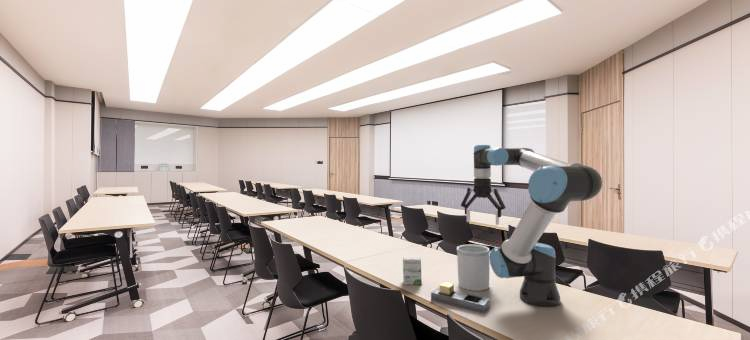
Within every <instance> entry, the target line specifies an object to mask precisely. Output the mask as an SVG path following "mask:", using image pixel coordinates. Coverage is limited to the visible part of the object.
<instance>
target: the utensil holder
mask: <svg viewBox="0 0 750 340" xmlns="http://www.w3.org/2000/svg"><path fill="white" fill-rule="evenodd" d="M490 252H491V250H490V248H489V247H488V246H485V245H481V244H473V243H470V244H461V245H458V246H456V254H457V256H456V257H457V259H456V260H457V279H458V280H457V281H458V282H457V283H458V286H459V287H460V288H461V289H464V290H468V291H474V292H475V291H476V292H477V291H478V292H479V291H480V292H481V291H485V290H488V289H489V288H490Z"/></svg>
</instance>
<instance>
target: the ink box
mask: <svg viewBox="0 0 750 340" xmlns="http://www.w3.org/2000/svg"><path fill="white" fill-rule="evenodd" d="M402 275H403V276H402V277H403V279H402V280H403V285H406V284H410V285H415V286H416V285H417V286H418V285H422V259H421V257H406V256H405V257H403V258H402ZM410 285H409V286H410Z"/></svg>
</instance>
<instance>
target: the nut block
mask: <svg viewBox="0 0 750 340" xmlns="http://www.w3.org/2000/svg"><path fill="white" fill-rule="evenodd" d="M438 287H440V294H442V295H446V296H450V297H451V296H452V295H453V294H454V291H455V284H454V283H451V282H446V281H443V282H442V283H441V284H439V286H438Z"/></svg>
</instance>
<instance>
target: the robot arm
mask: <svg viewBox="0 0 750 340" xmlns="http://www.w3.org/2000/svg"><path fill="white" fill-rule="evenodd" d="M492 166H496V167H497V166H519V167H522V168H525V169H527V170H530V171H531V172H533V173H531V174H530V177H529V179H528V185H529V186H527V191H528V194H529V198H530V200H531V201H530V202H529V204H528V206H527V207H526V210H525V211H524V213H523V215H522V217H521V218H520V220H519V222H518V224H517V225H516V227H515V229H514V231H513V232H512V234H511V236H510V237H509V238H508V239H505V240H504V241H503V242H502V243H501V245H500V247H498V248H496V247H494V248H492V249H491V250H490V252H489V265H490V266H491V269H492V271H493V273H494V274H495V276H496V277H498V278H500V279H511V278H521V277H523V281H522V282H521V283H522V284H521V286H520V289H519V298H520V299H521V300H522V301H523V302H525V303H528V304H531V305H534V306H539V307H547V308H549V307H553V308H554V307H556V306H557V307H558V306H559V305H560V304H561V296H560V293H559V290H558V286H557V284H556V258H557V256H556V250H555V248H554V247H553V246H551V245H549V244H547V243H541V242H539V240H540V238H541V237H542V235H543V234H544V232H545V231H546V230H547V227H548V226H549V225H550V224H551V222H552V220H553V218H554V217H555V215H556V214H561V213H562V212H564V211H565V209H566V208H567V207H568V205H569V204H570V203H571V202H582V201H583V202H584V201H589V200H592V199H593V198H595V197H596V196H597V195H598V194H600V192H601V190H602V187H603V180H602V176H601V174H600V173H599V171H597V169H595V168H593V167H592V166H588V165H584V164H581V163H575V162H574V163H568V162H565V161H562V160H558V159H556V158H553V157H549V156H546V155H544V154H542V153H538V152H535V150H534V149H532V148H530V147H529V148H528V147H519V148H518V147H517V148H516V147H515V148H514V147H513V148H511V147H509V148H508V147H507V148H506V147H494V148H491V145H489V144H476V145H474V147H473V177H474V179H473V187H467V188H466V193H465V196H464V198H463V199H462V202H461V203H460V207H463V208H464V214H465V216H466V223H469V222H471V207H470V206H471V205H472V203H474V201H475V200H476V199H477V198H480V199H481V198H483V199H485V198H487V200H489V201H490V203H491V204H492V205H493V206H494V207H495V208H496V210H495V225H496V226H498V225H499V224H500V218H501V217H502V210H505V209H506V205H505V203H504V201H503V200H502V197H501V195H500V193H499V189H498V188H497V187H496V188H492V179H491V177H492V176H491V175H492V172H491V171H492V170H491V169H492V168H491V167H492ZM472 193H474V194H473V195H472V197H471V198H470V196H471V194H472ZM491 193H492V194H494V196H495V199H494V198H493V196H492V194H491ZM469 198H470V199H469ZM496 200H497V201H496Z"/></svg>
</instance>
